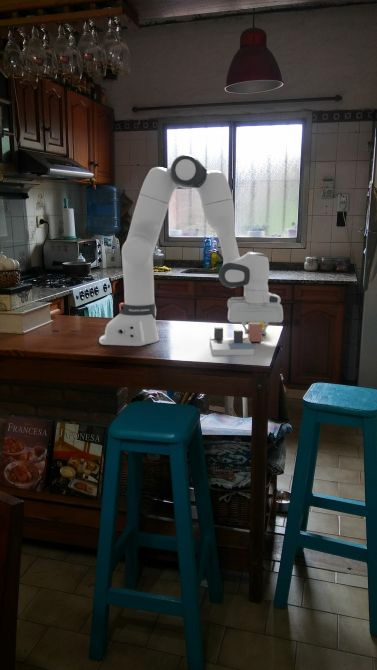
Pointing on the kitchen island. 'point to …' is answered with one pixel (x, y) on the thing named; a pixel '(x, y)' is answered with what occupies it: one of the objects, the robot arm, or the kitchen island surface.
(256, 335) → the cap
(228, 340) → the panel
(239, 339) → the breaker
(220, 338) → the breaker
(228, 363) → the kitchen island surface
